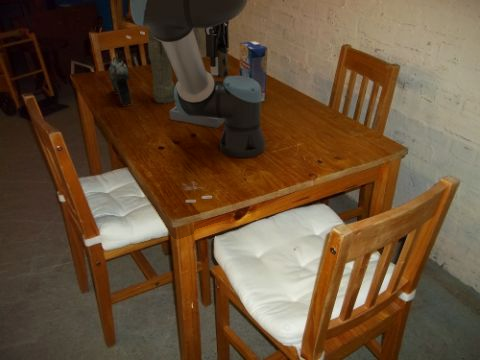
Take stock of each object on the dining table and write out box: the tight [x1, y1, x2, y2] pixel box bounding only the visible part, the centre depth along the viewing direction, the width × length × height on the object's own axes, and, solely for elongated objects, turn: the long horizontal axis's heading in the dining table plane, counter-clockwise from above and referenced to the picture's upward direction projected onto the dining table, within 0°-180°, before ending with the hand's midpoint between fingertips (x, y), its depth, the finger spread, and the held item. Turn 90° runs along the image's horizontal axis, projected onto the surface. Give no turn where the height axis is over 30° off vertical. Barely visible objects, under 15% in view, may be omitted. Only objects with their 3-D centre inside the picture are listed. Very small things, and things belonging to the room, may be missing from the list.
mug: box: [212, 42, 229, 79], centre depth 151 cm, size 8×6×12 cm
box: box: [169, 105, 225, 129], centre depth 163 cm, size 20×20×4 cm
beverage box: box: [239, 40, 268, 102], centre depth 172 cm, size 7×11×22 cm, turn 26°
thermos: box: [146, 26, 175, 105], centre depth 166 cm, size 9×12×35 cm
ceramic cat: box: [108, 52, 132, 106], centre depth 170 cm, size 20×6×20 cm, turn 25°
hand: (218, 72), depth 153 cm, fingers closed on mug, 5 cm apart
